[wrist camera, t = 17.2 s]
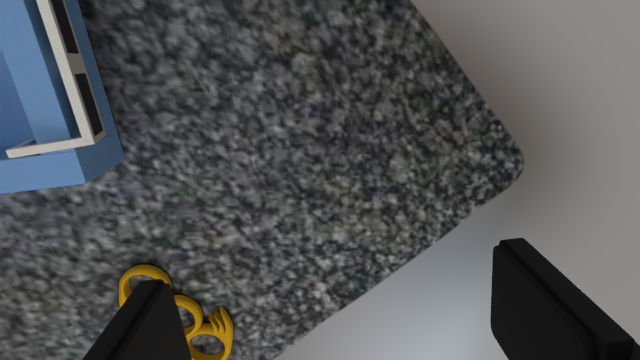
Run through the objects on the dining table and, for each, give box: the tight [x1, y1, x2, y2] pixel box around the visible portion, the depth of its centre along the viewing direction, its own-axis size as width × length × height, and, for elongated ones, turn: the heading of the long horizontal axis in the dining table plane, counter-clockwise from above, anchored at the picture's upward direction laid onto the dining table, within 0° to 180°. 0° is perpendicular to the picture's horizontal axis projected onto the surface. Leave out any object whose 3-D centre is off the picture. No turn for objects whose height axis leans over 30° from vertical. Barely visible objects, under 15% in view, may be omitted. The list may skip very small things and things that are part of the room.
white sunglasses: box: [6, 0, 106, 158], centre depth 31 cm, size 6×13×4 cm, turn 7°
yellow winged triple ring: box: [119, 265, 234, 360], centre depth 47 cm, size 17×2×10 cm
